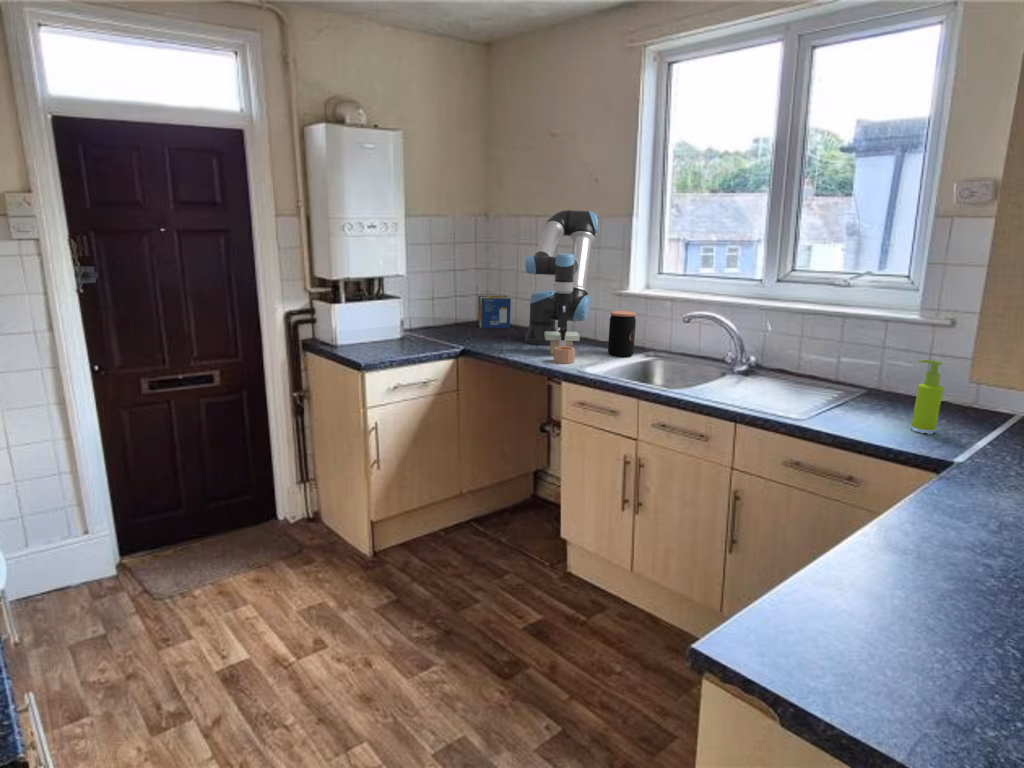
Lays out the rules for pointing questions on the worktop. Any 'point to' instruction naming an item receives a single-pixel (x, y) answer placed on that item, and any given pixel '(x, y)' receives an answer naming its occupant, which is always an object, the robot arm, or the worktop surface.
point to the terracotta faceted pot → (564, 354)
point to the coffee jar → (621, 333)
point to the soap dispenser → (928, 399)
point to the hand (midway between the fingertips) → (561, 345)
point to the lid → (555, 335)
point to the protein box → (494, 311)
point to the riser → (556, 343)
